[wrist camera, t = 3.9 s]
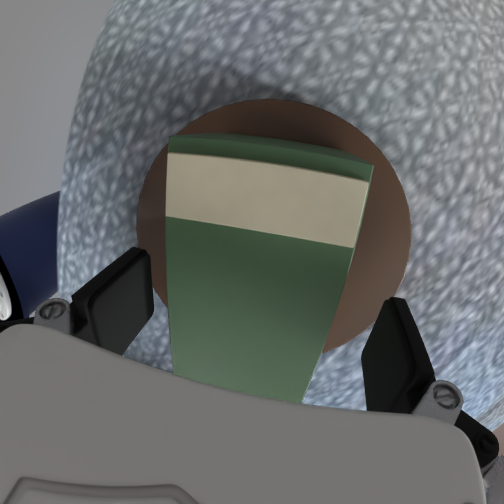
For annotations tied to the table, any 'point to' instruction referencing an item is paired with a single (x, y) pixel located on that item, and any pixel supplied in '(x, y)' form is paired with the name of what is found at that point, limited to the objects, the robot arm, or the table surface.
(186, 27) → the table surface
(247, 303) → the green box
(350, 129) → the turntable
